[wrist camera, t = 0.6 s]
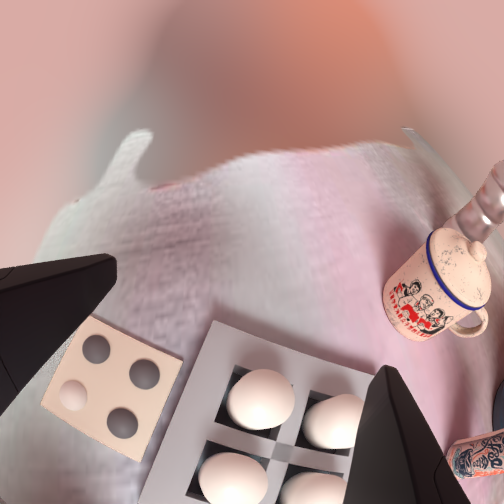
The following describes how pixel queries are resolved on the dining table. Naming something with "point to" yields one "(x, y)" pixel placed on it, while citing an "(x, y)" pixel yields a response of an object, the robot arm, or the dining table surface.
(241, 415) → the button
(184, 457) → the board
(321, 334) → the dining table surface
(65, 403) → the card
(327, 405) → the button
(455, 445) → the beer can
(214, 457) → the button
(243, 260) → the dining table surface
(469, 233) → the plastic bottle
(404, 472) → the robot arm
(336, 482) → the button
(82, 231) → the dining table surface
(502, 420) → the canister
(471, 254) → the teacup with lid
